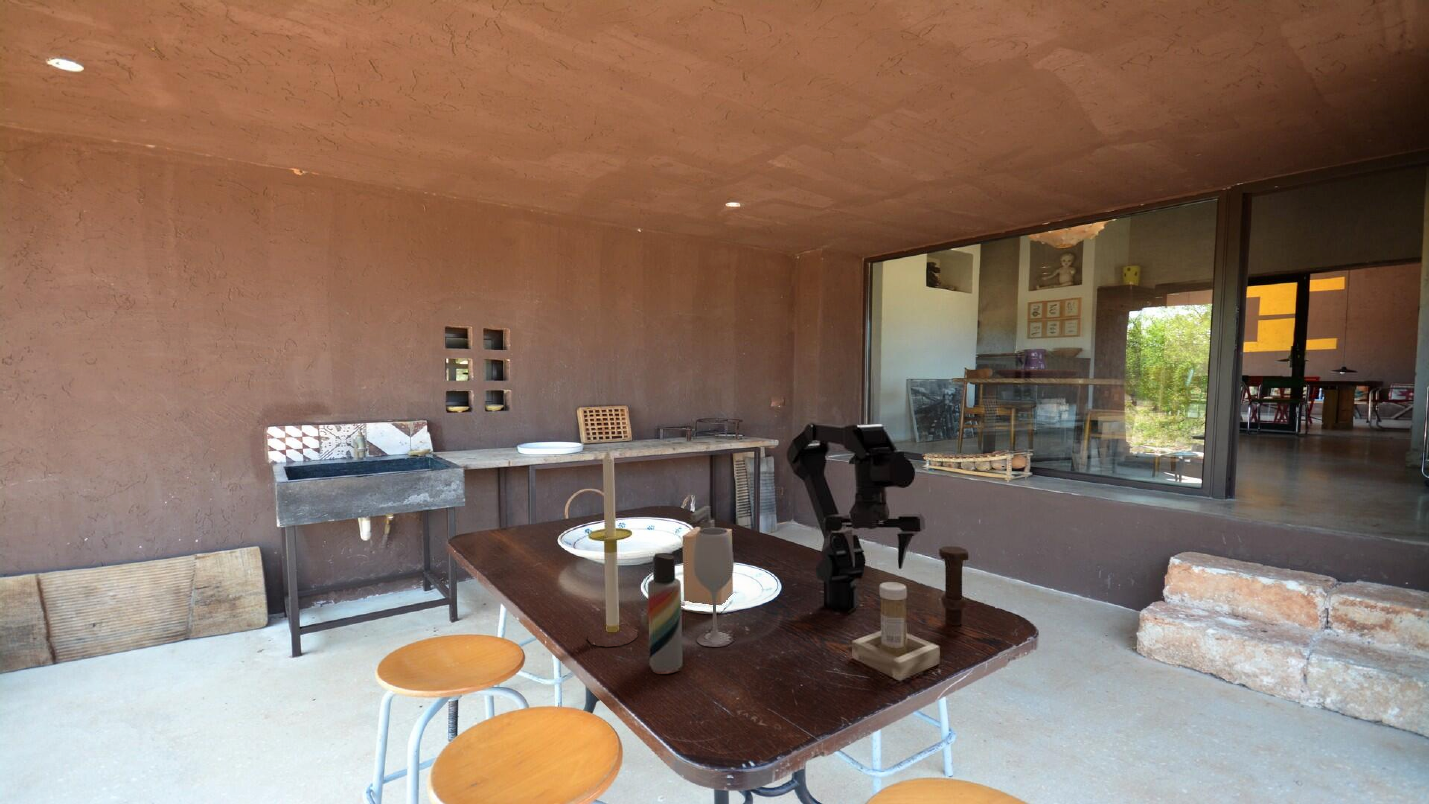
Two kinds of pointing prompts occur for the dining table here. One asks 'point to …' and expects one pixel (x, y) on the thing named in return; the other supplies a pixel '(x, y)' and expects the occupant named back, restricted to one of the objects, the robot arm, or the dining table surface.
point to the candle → (610, 544)
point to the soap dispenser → (691, 585)
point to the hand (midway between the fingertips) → (876, 567)
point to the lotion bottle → (664, 615)
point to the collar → (901, 667)
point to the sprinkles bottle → (893, 618)
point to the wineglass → (713, 568)
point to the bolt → (953, 583)
